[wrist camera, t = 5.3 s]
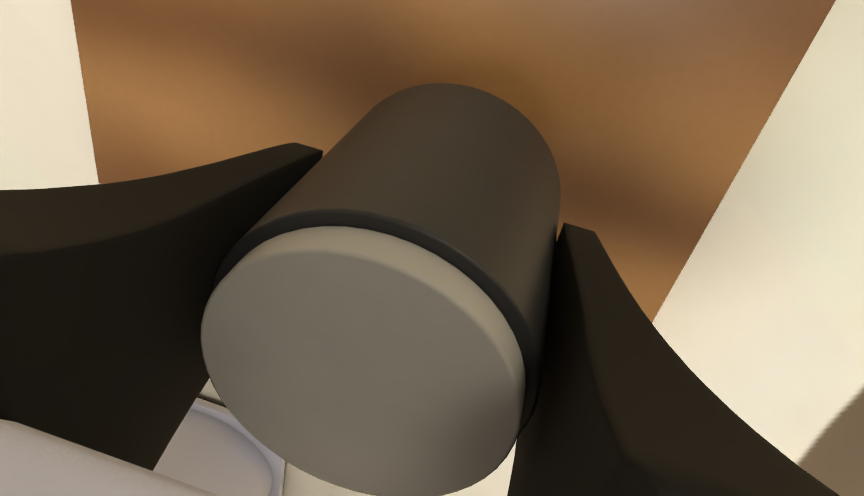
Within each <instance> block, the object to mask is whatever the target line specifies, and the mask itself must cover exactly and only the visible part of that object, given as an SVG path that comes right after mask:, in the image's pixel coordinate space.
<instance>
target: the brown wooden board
mask: <svg viewBox="0 0 864 496" xmlns="http://www.w3.org/2000/svg"><path fill="white" fill-rule="evenodd" d="M835 1H836V0H71V6H72V12H73V19H74V25H75V32H76V38H77V45H78V51H79V58H80V64H81V71H82V77H83V84H84V90H85V97H86V103H87V110H88V116H89V123H90V129H91V135H92V142H93V148H94V155H95V161H96V168H97V174H98V181H99V183H100V184H107V183H115V182H122V181H129V180H135V179H142V178H148V177H153V176H159V175H164V174H168V173H173V172H177V171H181V170H186V169H190V168H194V167H198V166H203V165H207V164H211V163H215V162H219V161H223V160H226V159H230V158H233V157H237V156H241V155H244V154H248V153H251V152H255V151H259V150H262V149H266V148H270V147H274V146H278V145H282V144H287V143H294V142H296V143H300V144H303V145H306V146H310V147H313V148H316V149H320V150H323V157H324V156H325V155H326V154H327V153H328V152H329V151H330V150H331V149H332V148H333V147H334V146H335V145H336V144H337V143H338V142H339V141H340V140H341V139H342V138H343V137H344V136H345V135H346V134H347V133H348V132H349V131H350V130H351V129H352V128H353V127H354V126H355V125H356V124H357V123H358V122H359V121H360V120H361V119H362V118H363V117H364V116H365V115H366V114H367V113H368V112H369V111H370V110H371V109H372V108H373V107H374V106H375V105H377V104H378V103H380V102H381V101H382V100H384V99H385V98H387V97H389V96H391V95H393V94H394V93H396V92H398V91H401V90H404V89H407V88H410V87H413V86H418V85H423V84H433V83H450V84H460V85H464V86H469V87H474V88H477V89H480V90H482V91H485V92H488V93H490V94H492V95H494V96H496V97H498V98H500V99H502V100H504V101H506V102H507V103H509V104H510V105H511V106H513V107H514V108H516V109H517V110H518V111H520V112H521V113H522V114H523V115H524V116H525V117H526V118H527V119H529V120H530V122H531V123H532V124H533V125H534V126H535V127H536V129H537V130H538V131H539V132H540V134H541V135H542V137H543V138H544V140H545V141H546V143H547V144H548V146H549V148H550V151H551V153H552V155H553V157H554V159H555V163H556V166H557V169H558V172H559V179H560V185H561V203H560V212H559V221H558V231H557V239H558V236H559V234H560V231H561V228H562V226H563V223H564V222H565V223H568V224H571V225H575V226H578V227H581V228H585V229H588V230H592V231H595V233H596V235H597V236H598V238H599V240H600V241H601V243H602V245H603V247H604V249H605V250H606V252H607V254H608V256H609V258H610V259H611V261H612V263H613V265H614V266H615V268H616V270H617V271H618V273H619V275H620V277H621V278H622V280H623V281H624V283H625V285H626V286H627V288H628V289H629V291H630V293H631V294H632V296H633V297H634V299H635V300H636V302H637V303H638V305H639V306H640V308H641V309H642V310H643V312H644V313H645V315H646V316H647V317H648V319H649V320H650V321H651V323H652V322H653V320H654V318H655V316H656V315H657V313H658V311H659V309H660V308H661V306H662V304H663V302H664V301H665V299H666V297H667V295H668V294H669V292H670V290H671V288H672V287H673V285H674V283H675V281H676V280H677V278H678V276H679V274H680V273H681V271H682V269H683V267H684V266H685V264H686V262H687V260H688V259H689V257H690V255H691V253H692V252H693V250H694V248H695V246H696V245H697V243H698V241H699V239H700V238H701V236H702V234H703V232H704V230H705V229H706V227H707V225H708V223H709V222H710V220H711V218H712V216H713V215H714V213H715V211H716V209H717V208H718V206H719V204H720V202H721V201H722V199H723V197H724V195H725V194H726V192H727V190H728V188H729V187H730V185H731V183H732V181H733V180H734V178H735V176H736V174H737V173H738V171H739V169H740V167H741V166H742V164H743V162H744V160H745V159H746V157H747V155H748V153H749V151H750V150H751V148H752V146H753V144H754V143H755V141H756V139H757V137H758V136H759V134H760V132H761V130H762V129H763V127H764V125H765V123H766V122H767V120H768V118H769V116H770V115H771V113H772V111H773V109H774V108H775V106H776V104H777V102H778V101H779V99H780V97H781V95H782V94H783V92H784V90H785V88H786V87H787V85H788V83H789V81H790V80H791V78H792V76H793V74H794V72H795V71H796V69H797V67H798V65H799V64H800V62H801V60H802V58H803V57H804V55H805V53H806V51H807V50H808V48H809V46H810V44H811V43H812V41H813V39H814V37H815V36H816V34H817V32H818V30H819V29H820V27H821V25H822V23H823V22H824V20H825V18H826V16H827V15H828V13H829V11H830V9H831V8H832V6H833V4H834V2H835ZM556 241H557V240H556Z"/></svg>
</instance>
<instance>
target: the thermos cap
mask: <svg viewBox="0 0 864 496" xmlns="http://www.w3.org/2000/svg"><path fill="white" fill-rule="evenodd" d="M560 203H561V185H560V179H559V172H558V169H557V166H556V163H555V159H554V157H553V155H552V153H551V151H550V148H549V146H548V144H547V143H546V141H545V140H544V138H543V137H542V135H541V134H540V132H539V131H538V130H537V129H536V127H535V126H534V125H533V124H532V123H531V122H530V120H529V119H527V118H526V117H525V116H524V115H523V114H522V113H521V112H520V111H518V110H517V109H516V108H514V107H513V106H511V105H510V104H509V103H507V102H506V101H504V100H502V99H500V98H498V97H496V96H494V95H492V94H490V93H488V92H485V91H482V90H480V89H477V88H474V87H469V86H464V85H460V84H450V83H433V84H423V85H418V86H413V87H410V88H407V89H404V90H401V91H398V92H396V93H394V94H393V95H391V96H389V97H387V98H385V99H384V100H382V101H381V102H380V103H378V104H377V105H375V106H374V107H373V108H372V109H371V110H370V111H369V112H368V113H367V114H366V115H365V116H364V117H363V118H362V119H361V120H360V121H359V122H358V123H357V124H356V125H355V126H354V127H353V128H352V129H351V130H350V131H349V132H348V133H347V134H346V135H345V136H344V137H343V138H342V139H341V140H340V141H339V142H338V143H337V144H336V145H335V146H334V147H333V148H332V149H331V150H330V151H329V152H328V153H327V154H326V155H325V156H324V157H323V158H322V159H321V160H320V161H319V162H318V163H317V164H316V165H315V166H314V167H313V168H311V169H310V170H309V171H308V172H307V173H306V174H305V175H304V176H303V177H302V178H301V179H300V180H299V181H298V182H297V183H296V184H295V185H294V186H293V187H292V188H291V189H290V190H289V191H288V192H287V193H286V194H285V195H284V196H283V197H282V198H281V199H280V200H279V201H278V202H277V203H276V204H275V205H274V206H273V207H272V208H271V209H270V210H269V211H268V212H267V213H266V214H265V215H264V216H263V217H262V218H261V219H260V220H259V221H258V222H257V223H256V224H255V225H254V226H253V227H252V228H251V229H250V230H249V231H248V232H247V233H246V234H245V235H244V236H243V237H242V238H241V239H240V240H239V241H238V242H237V243H236V244H235V245H234V246H233V247H232V248H231V249H230V251H229V252H228V254H227V255H226V257H225V258H224V260H223V261H222V263H221V266H220V268H219V270H218V272H217V275H216V278H215V282H214V287H213V291H212V294H211V295H210V298H209V300H208V302H207V305H206V307H205V310H204V314H203V319H202V323H201V339H200V340H201V348H202V356H203V359H204V363H205V366H206V370H207V372H208V375H209V377H210V379H211V382H212V384H213V386H214V388H215V389H216V391H217V393H218V395H219V396H220V398H221V400H222V401H223V403H224V404H225V405H226V407H227V408H228V409H229V411H230V412H231V414H232V415H233V416H234V417H235V418H236V419H237V420H238V421H239V423H240V424H241V425H242V426H243V427H244V428H245V429H246V430H247V431H248V432H249V433H250V434H251V435H252V436H253V437H254V438H256V439H257V440H258V441H259V442H260V443H262V444H263V445H264V446H265V447H267V448H268V449H269V450H270V451H272V452H273V453H275V454H276V455H278V456H279V457H281V458H282V459H283V460H285V461H286V462H288V463H290V464H292V465H293V466H295V467H297V468H299V469H300V470H302V471H304V472H306V473H308V474H310V475H312V476H315V477H317V478H319V479H321V480H324V481H326V482H329V483H331V484H334V485H337V486H340V487H343V488H346V489H349V490H353V491H357V492H361V493H365V494H370V495H376V496H441V495H445V494H449V493H453V492H457V491H459V490H462V489H464V488H467V487H470V486H472V485H474V484H475V483H477V482H479V481H481V480H482V479H484V478H486V477H487V476H488V475H489V474H491V473H492V472H493V471H494V470H496V469H497V468H498V466H499V465H500V464H501V463H502V462H503V461H504V460H505V458H506V457H507V456H508V454H509V452H510V451H511V449H512V447H513V446H514V444H515V442H516V439H517V437H518V436H519V434H520V433H521V432H522V431H523V430H524V429H525V427H526V426H527V424H528V422H529V420H530V419H531V417H532V415H533V414H534V411H535V408H536V405H537V402H538V399H539V394H540V388H541V381H542V372H543V363H544V353H545V344H546V334H547V325H548V315H549V306H550V297H551V287H552V278H553V268H554V259H555V250H556V240H557V231H558V221H559V212H560Z"/></svg>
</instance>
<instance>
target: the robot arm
mask: <svg viewBox="0 0 864 496" xmlns="http://www.w3.org/2000/svg"><path fill="white" fill-rule="evenodd" d="M322 158H323V150H320V149H316V148H313V147H310V146H306V145H303V144H300V143H296V142H294V143H287V144H282V145H278V146H274V147H270V148H266V149H262V150H259V151H255V152H251V153H248V154H244V155H241V156H237V157H233V158H230V159H226V160H223V161H219V162H215V163H211V164H207V165H203V166H198V167H194V168H190V169H186V170H181V171H177V172H173V173H168V174H164V175H159V176H153V177H148V178H142V179H135V180H129V181H122V182H115V183H107V184H98V185H86V186H73V187H60V188H48V189H28V190H0V496H282V494H283V482H284V471H285V460H283V459H282V458H281V457H279V456H278V455H276V454H275V453H273V452H272V451H270V450H269V449H268V448H267V447H265V446H264V445H263V444H262V443H260V442H259V441H258V440H257V439H256V438H254V437H253V436H252V435H251V434H250V433H249V432H248V431H247V430H246V429H245V428H244V427H243V426H242V425H241V424H240V423H239V421H238V420H237V419H236V418H235V417H234V416H233V415H232V414H231V412H230V411H229V409H228V408H226V407H223V406H220V405H217V404H214V403H211V402H208V401H206V400H203V399H200V398H197V396H198V395H199V393H200V392H201V390H202V389H203V387H204V385H205V384H206V382H207V381H208V379H209V378H210V377H209V375H208V372H207V370H206V366H205V363H204V359H203V356H202V348H201V340H200V339H201V323H202V319H203V314H204V310H205V307H206V305H207V302H208V300H209V298H210V295H211V294H212V291H213V287H214V282H215V278H216V275H217V272H218V270H219V268H220V266H221V263H222V261H223V260H224V258H225V257H226V255H227V254H228V252H229V251H230V249H231V248H232V247H233V246H234V245H235V244H236V243H237V242H238V241H239V240H240V239H241V238H242V237H243V236H244V235H245V234H246V233H247V232H248V231H249V230H250V229H251V228H252V227H253V226H254V225H255V224H256V223H257V222H258V221H259V220H260V219H261V218H262V217H263V216H264V215H265V214H266V213H267V212H268V211H269V210H270V209H271V208H272V207H273V206H274V205H275V204H276V203H277V202H278V201H279V200H280V199H281V198H282V197H283V196H284V195H285V194H286V193H287V192H288V191H289V190H290V189H291V188H292V187H293V186H294V185H295V184H296V183H297V182H298V181H299V180H300V179H301V178H302V177H303V176H304V175H305V174H306V173H307V172H308V171H309V170H310V169H311V168H313V167H314V166H315V165H316V164H317V163H318V162H319V161H320V160H321V159H322ZM507 496H839V495H838V494H837V493H835V492H834V491H832V490H831V489H829V488H828V487H827V486H825V485H824V484H822V483H821V482H820V481H818V480H817V479H815V478H814V477H813V476H811V475H810V474H809V473H807V472H806V471H804V470H803V469H802V468H800V467H799V466H798V465H796V464H795V463H794V462H793V461H791V460H790V459H789V458H788V457H786V456H785V455H784V454H783V453H781V452H780V451H779V450H778V449H776V448H775V447H774V446H773V445H772V444H770V443H769V442H768V441H767V440H765V439H764V438H763V437H762V436H760V435H759V434H758V433H757V432H756V431H754V430H753V429H752V428H751V427H750V426H749V425H748V424H746V423H745V422H744V421H743V420H742V419H741V418H740V417H738V416H737V415H736V414H735V413H734V412H733V411H732V410H731V409H730V408H729V407H728V406H727V405H726V404H724V403H723V402H722V401H721V400H720V399H719V398H718V397H717V396H716V395H715V394H714V393H713V392H712V391H711V390H710V389H709V388H708V387H707V386H706V385H705V384H704V383H703V382H702V381H701V380H700V379H699V378H698V377H697V376H696V375H695V374H694V373H693V372H692V371H691V370H690V369H689V368H688V366H687V365H686V364H685V363H684V362H683V361H682V360H681V358H680V357H679V356H678V355H677V354H676V353H675V352H674V350H673V349H672V348H671V347H670V346H669V345H668V344H667V342H666V341H665V340H664V339H663V337H662V336H661V335H660V334H659V332H658V331H657V330H656V328H655V327H654V326H653V324H652V323H651V321H650V320H649V319H648V317H647V316H646V315H645V313H644V312H643V310H642V309H641V308H640V306H639V305H638V303H637V302H636V300H635V299H634V297H633V296H632V294H631V293H630V291H629V289H628V288H627V286H626V285H625V283H624V281H623V280H622V278H621V277H620V275H619V273H618V271H617V270H616V268H615V266H614V265H613V263H612V261H611V259H610V258H609V256H608V254H607V252H606V250H605V249H604V247H603V245H602V243H601V241H600V240H599V238H598V236H597V235H596V233H595V231H592V230H588V229H585V228H581V227H578V226H575V225H571V224H568V223H565V222H564V223H563V226H562V228H561V231H560V234H559V236H558V239H557V241H556V250H555V259H554V268H553V278H552V287H551V297H550V306H549V315H548V325H547V334H546V344H545V353H544V363H543V372H542V381H541V388H540V394H539V399H538V402H537V405H536V408H535V411H534V414H533V415H532V417H531V419H530V420H529V422H528V424H527V426H526V427H525V429H524V430H523V431H522V432H521V433H520V434H519V436H518V437H517V441H516V449H515V457H514V463H513V468H512V474H511V479H510V485H509V490H508V495H507Z"/></svg>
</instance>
